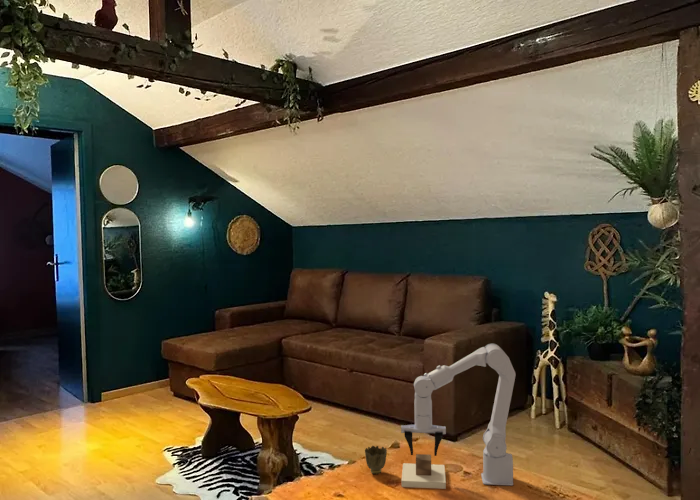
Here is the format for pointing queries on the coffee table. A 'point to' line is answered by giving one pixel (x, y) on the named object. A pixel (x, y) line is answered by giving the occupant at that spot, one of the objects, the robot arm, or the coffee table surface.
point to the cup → (375, 458)
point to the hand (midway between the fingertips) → (423, 454)
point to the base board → (423, 477)
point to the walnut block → (423, 464)
